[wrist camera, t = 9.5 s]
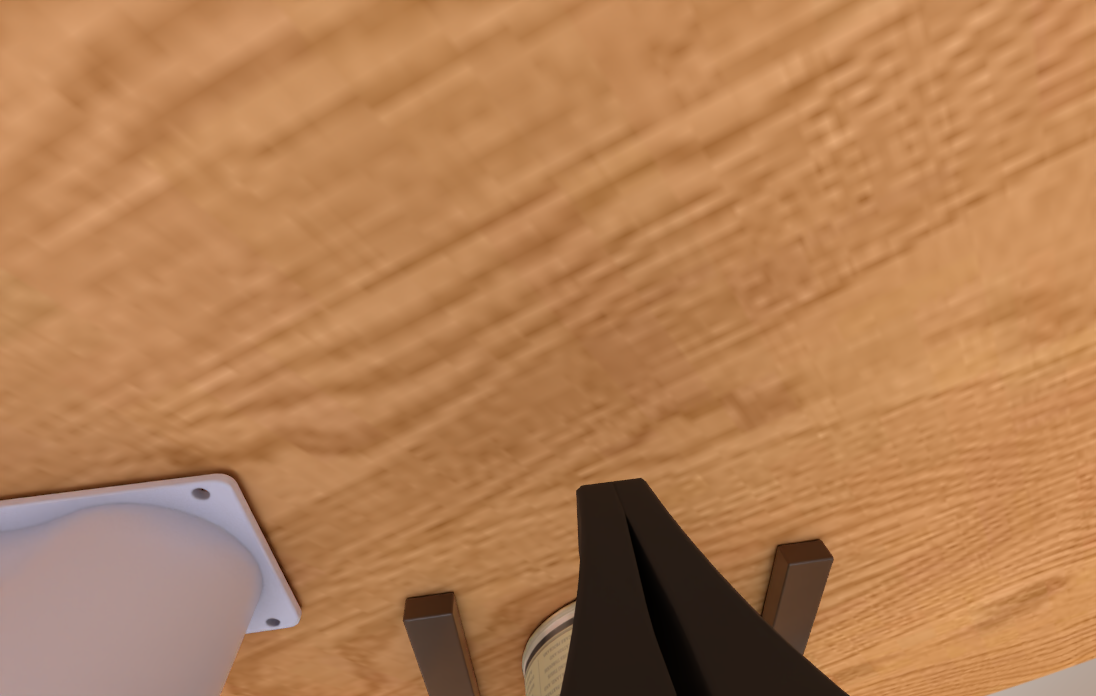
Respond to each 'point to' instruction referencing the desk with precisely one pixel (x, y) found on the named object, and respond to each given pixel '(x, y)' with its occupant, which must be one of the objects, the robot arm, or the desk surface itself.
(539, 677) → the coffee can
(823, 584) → the walnut frame
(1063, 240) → the desk surface
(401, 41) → the desk surface
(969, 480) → the desk surface
